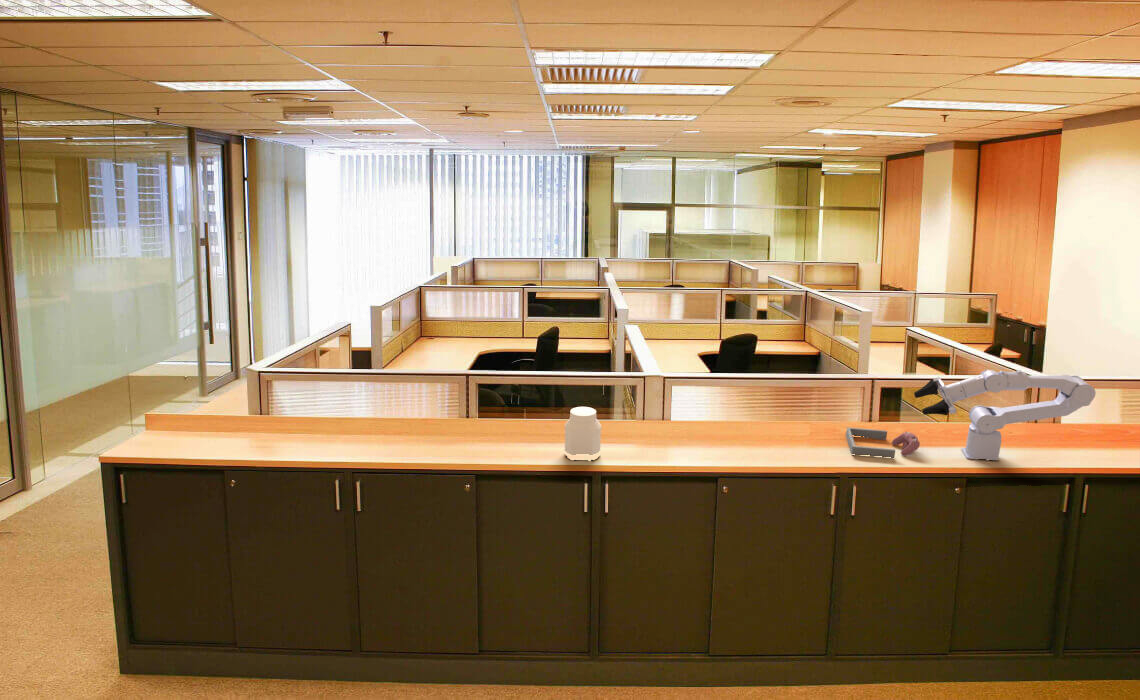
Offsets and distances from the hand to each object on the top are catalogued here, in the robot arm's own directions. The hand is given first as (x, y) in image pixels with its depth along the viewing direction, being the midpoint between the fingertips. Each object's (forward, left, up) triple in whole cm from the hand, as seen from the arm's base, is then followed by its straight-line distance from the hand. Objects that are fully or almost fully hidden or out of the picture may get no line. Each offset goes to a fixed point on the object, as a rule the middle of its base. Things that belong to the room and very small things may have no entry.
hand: (918, 403), depth 263 cm
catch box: (+14, +1, -16) cm, 21 cm away
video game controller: (+2, +1, -17) cm, 17 cm away
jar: (+105, +29, -16) cm, 110 cm away
